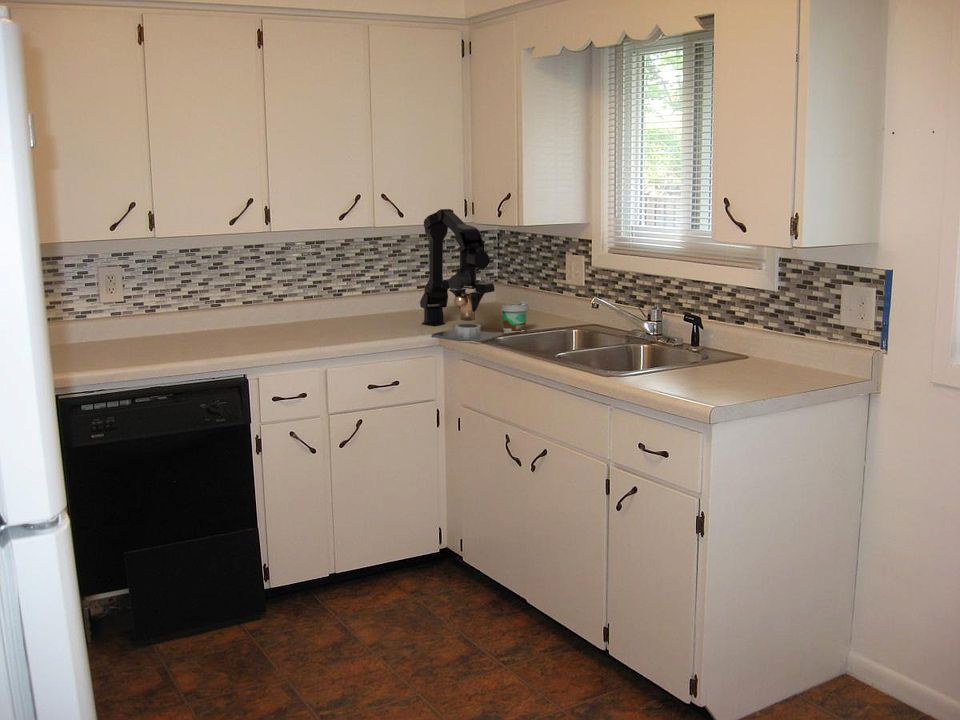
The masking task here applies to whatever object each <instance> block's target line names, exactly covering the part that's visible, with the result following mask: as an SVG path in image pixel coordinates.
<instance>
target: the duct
mask: <svg viewBox="0 0 960 720" xmlns="http://www.w3.org/2000/svg"><path fill="white" fill-rule="evenodd" d="M481 328H482V326H481V324H479V323H478V324H477V323H469V322H467V323H466V322H465V323H457V324H455V326H454V328H451V329H447V330H445V331H444V330H443V331H441V332H435V333H431V338H437V339H443V340H449V341H455V342H456V341H457V342H461V341H475V342H481V341H485V340H488V339H492V338H496V337H499V336H502V335H504V336H505V333H497V332H490V331H482V329H481Z"/></svg>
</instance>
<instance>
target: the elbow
mask: <svg viewBox="0 0 960 720" xmlns="http://www.w3.org/2000/svg"><path fill="white" fill-rule="evenodd" d="M453 304H454V306H455V307H456V308H459V307H460V308H459V310H460V313H459V318H460V321H466V322H467V321H468V322H469V321H470V322H472V321H475V320H476V311H475V312H473V309H472V295H471V292H470V291H469V292H468V291H467V292H466V291H465V292H464V293H460V296H459V297H454V299H453Z"/></svg>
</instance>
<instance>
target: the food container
mask: <svg viewBox="0 0 960 720" xmlns="http://www.w3.org/2000/svg"><path fill="white" fill-rule="evenodd" d="M529 310H530V308H529V304H528V302H527V301H520V303H518V304H510V305H506V304H502V305H501V310H500V311H501V312H502V328H503V329H502V331H503V332H504V331H521V330H525V331H526V324H527V312H528V311H529Z"/></svg>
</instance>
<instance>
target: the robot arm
mask: <svg viewBox="0 0 960 720" xmlns="http://www.w3.org/2000/svg"><path fill="white" fill-rule="evenodd" d="M423 227H424V234H425V235H426V236H427V238H428V240H429V250H428V251H429V252H428V253H429V256H428V257H429V260H428V262H429V265H428V271H429V274H428V275H429V276H428V277H429V278H428V281H427V283H426V285H425V286H424V292H423V295H422V297H421V299H420V301H419V304H420V305H419V306H420V308H422V309H423V312H424V318H423V319H424V320H423V322H421V325H426V326H441V325H445V324H446V322H445V321H444V310H443V308H447V306H448V302H449V301H448V299H449V294H448V289H449V292H451V293H452V294H453V295H454V298H456V297H459V296H460V293H464V292H466V290H467V289H471V290H473V291H472V292H471V295H472V309H473V312H475V313H476V311H477V309H478V306H479V304H480V302H481V300H482V298H483V297H484V295H485V294H488V293H493V292H495V291H496V290H495V288H496V287H495V284H494V283H493V282H480V281H479V280H478V279H477V272H479V271H480V269H481V270H483V269H486V268H487V267H488V266H489V264H490V263H491V261H490V260H491V258H490V256H489V254H488V253H487V252H485V250H486V249H485V248H486V247H485V242H484V240H483V238H482V235H481V233H480V230H479V229H478V228H477V227H475V226H473V225H471V224H466V223H465V222H464V221H463V220H462V219H461V218H460V217H459V216H458V215H457V214H456V213H455V212H454V210H453V209H450V208H442V209H441V208H440V209H438V210H437V211H436V212H434V213H431V214H429V215H428V216H427V217H425V218H424V220H423ZM448 230H450V231H451V232H452V233H454V235H455V236H454V237H455V238H454V240H455V241H456V242H457V244H458V245H459V246H458V247H457V251H458V252H459V268H456V274H453V275H452V276H451V277H450V278H447V279H443V273H444V271H443V270H444V269H443V268H444V267H443V266H444V264H443V263H444V259H443V258H444V257H443V256H444V254H443V252H444V250H443V249H444V240H445V238H446V236H447V235H448ZM479 282H480V283H479ZM458 308H459V309H460V307H458Z"/></svg>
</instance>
